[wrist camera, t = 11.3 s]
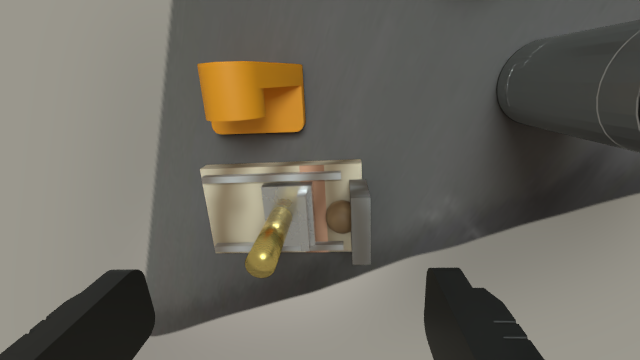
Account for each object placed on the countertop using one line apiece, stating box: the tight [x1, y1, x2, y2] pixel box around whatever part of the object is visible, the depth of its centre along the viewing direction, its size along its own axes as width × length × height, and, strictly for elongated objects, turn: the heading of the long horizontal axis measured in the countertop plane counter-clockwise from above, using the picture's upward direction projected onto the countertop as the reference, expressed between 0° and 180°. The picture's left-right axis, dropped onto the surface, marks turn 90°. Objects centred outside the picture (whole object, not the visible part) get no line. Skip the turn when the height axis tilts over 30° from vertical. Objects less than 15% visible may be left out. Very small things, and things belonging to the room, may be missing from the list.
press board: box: [200, 159, 371, 265], centre depth 37 cm, size 20×12×8 cm, turn 93°
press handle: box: [245, 182, 316, 278], centre depth 33 cm, size 6×8×12 cm
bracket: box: [197, 61, 306, 134], centre depth 31 cm, size 11×7×12 cm, turn 93°
